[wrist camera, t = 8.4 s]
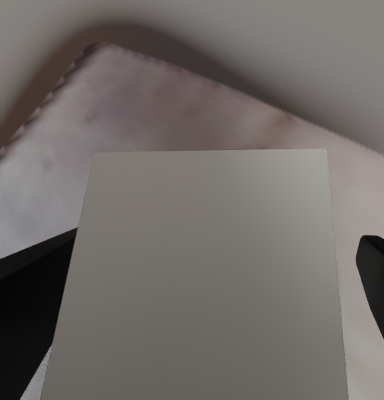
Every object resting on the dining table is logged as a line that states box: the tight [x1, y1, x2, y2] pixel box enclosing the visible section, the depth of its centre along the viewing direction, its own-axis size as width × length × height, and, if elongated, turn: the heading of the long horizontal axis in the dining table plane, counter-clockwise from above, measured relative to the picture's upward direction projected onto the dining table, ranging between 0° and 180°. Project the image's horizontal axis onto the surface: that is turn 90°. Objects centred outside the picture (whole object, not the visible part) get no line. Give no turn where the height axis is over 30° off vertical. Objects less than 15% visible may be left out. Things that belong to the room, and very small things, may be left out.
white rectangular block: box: [40, 149, 349, 400], centre depth 11 cm, size 5×5×13 cm
